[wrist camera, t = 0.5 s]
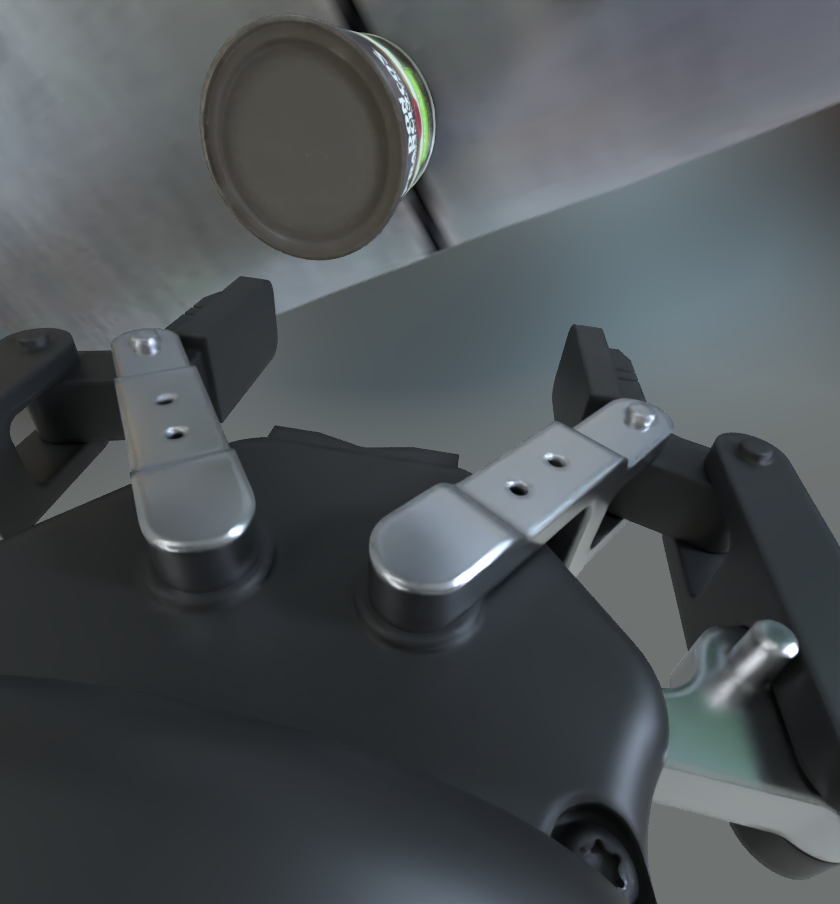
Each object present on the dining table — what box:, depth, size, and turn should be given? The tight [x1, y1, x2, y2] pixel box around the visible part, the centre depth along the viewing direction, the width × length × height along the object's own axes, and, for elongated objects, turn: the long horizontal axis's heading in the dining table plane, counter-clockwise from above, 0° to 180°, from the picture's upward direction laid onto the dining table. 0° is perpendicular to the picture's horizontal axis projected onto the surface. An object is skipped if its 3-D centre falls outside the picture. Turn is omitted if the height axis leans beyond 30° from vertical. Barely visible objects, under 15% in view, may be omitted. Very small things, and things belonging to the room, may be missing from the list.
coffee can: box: [200, 14, 435, 260], centre depth 30 cm, size 10×10×14 cm
